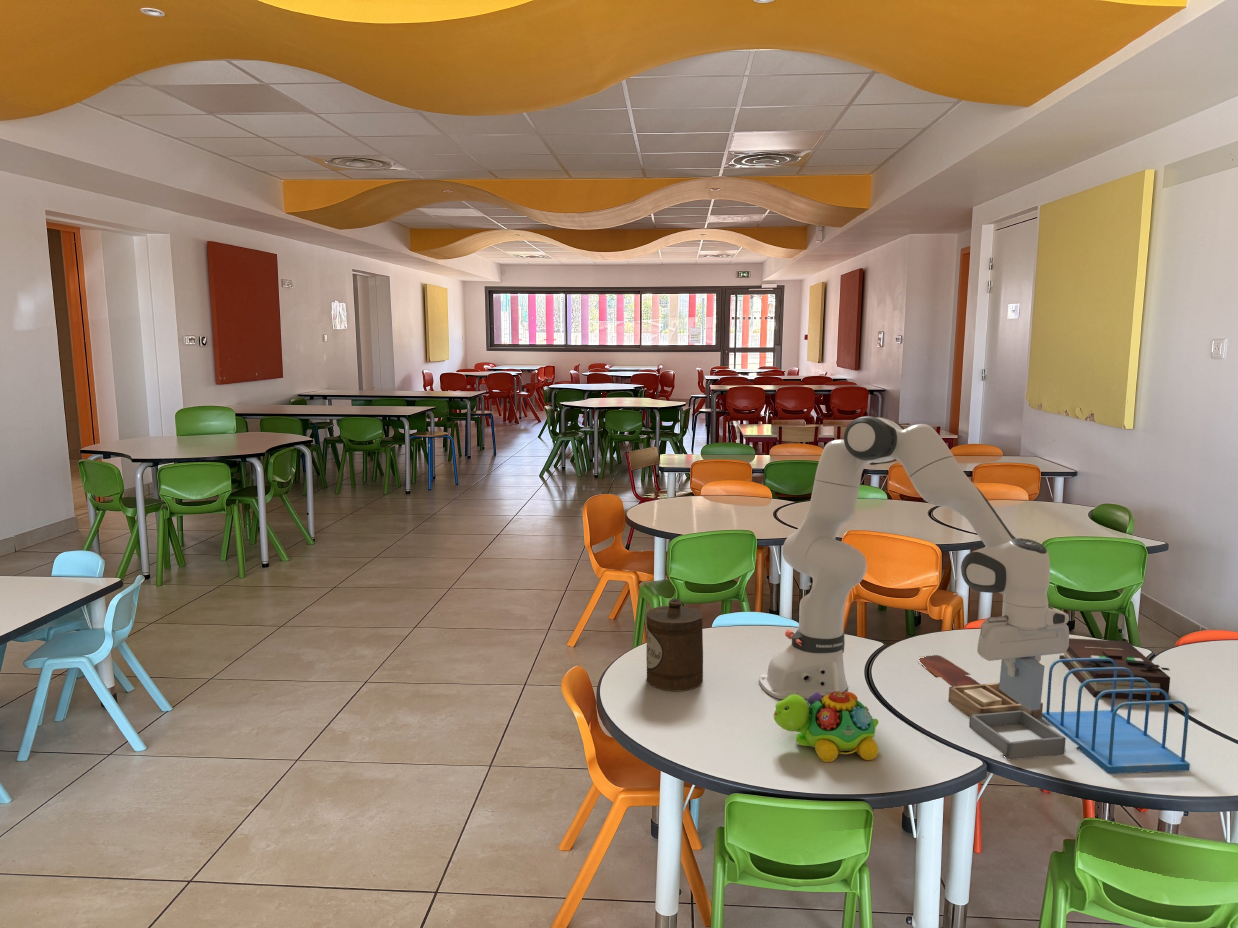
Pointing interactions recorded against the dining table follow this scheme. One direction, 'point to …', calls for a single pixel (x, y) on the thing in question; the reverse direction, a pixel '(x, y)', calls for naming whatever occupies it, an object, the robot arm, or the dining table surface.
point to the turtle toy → (829, 724)
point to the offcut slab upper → (982, 697)
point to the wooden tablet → (947, 671)
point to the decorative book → (1124, 658)
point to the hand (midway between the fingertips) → (1021, 674)
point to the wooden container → (674, 647)
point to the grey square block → (1024, 682)
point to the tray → (1018, 749)
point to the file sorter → (1117, 728)
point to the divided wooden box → (1007, 705)
